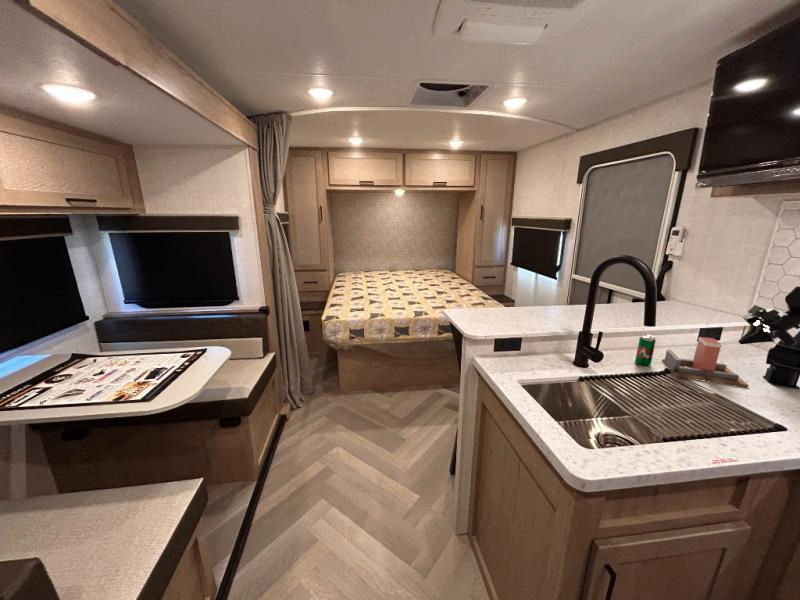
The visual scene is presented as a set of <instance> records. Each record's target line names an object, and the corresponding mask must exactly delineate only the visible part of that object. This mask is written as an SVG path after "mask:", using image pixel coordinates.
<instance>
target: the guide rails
mask: <svg viewBox="0 0 800 600" xmlns="http://www.w3.org/2000/svg"><path fill="white" fill-rule="evenodd" d="M664 359H665V360H664V361H665V362H666V364H667V365H668V366H669V367H670V368H671V370H672V371H673V372H677V373H684V374H691V375H698V376H705V377H712V378H719V379H726V380H733V381H738V378H740V375H738V374H737V373H735V374H733V373H734V372H733V373H725V372H718V371H710V370H703V369H695V368H688V367H686V366H684V367H681V366H680V365H687V366H692V364H693V360H694V359H687V358H679V357H678V356H677V354H676V353H674V351H672V350H671V349H666V352H665V357H664ZM726 367H727V365H726V364H725V363H719V362H716V366H715V369H717V370H725V369H726Z"/></svg>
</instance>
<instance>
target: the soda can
mask: <svg viewBox="0 0 800 600" xmlns="http://www.w3.org/2000/svg"><path fill="white" fill-rule="evenodd" d="M656 341H657V340H656V337H655V336H654V335H652V334H641V336H640V337H639V340H638V344H637V345H638V346H637V349H636V354H635V358H634V359H635V361H634V362H635V364H636V363H637V364H636V365H638V366H640V365H641V367H645V366H646V367H649V366H651V365H652V360H653V356H654V355H653V354H654V351H655V346H656V343H657V342H656Z"/></svg>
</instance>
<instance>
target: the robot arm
mask: <svg viewBox="0 0 800 600" xmlns="http://www.w3.org/2000/svg"><path fill="white" fill-rule="evenodd" d="M784 300H785V304H786V306H787V308H785V309H784V310H782V311H779V310H776V309H774V308H771V307H770V308H767V309H765V308H763V307H762V306H758V304H757V305H755V304H753V306H752V307H751V308H750V309H749V310H747V313H748V314H745V315H743V316H742V319H744V322H746V323H747V324H748V325H749V329H748V331H747V332H746V333H745V334H744V335H743V336H742V337H741V338H740V339H738V341H737V342H738V343H739V344H740V345H747V344H758V343H759V344H760V343H775V342H776V341H775V340H777V339H779V341H778V342H777V344H775V346H773V347H771V348H769V350H768V352H767V355H766V361H765V364H766V365H769V367H768V368H766V371H765V375H762V378H763V379H764V380H766V381H767V382H768V383H770V384H771V385H773V386H775V387H776V386H777V387H783V388H790V389H798V390H799V389H800V386H799V385H798V382H799V379H800V285H799V286H795V287H794V288H793V289H792V290H791V291H790V292H789V293H788V294H787V295H786V296H785V298H784ZM791 329H796V330H799V331H798V332H797V333H796V334H795V335H794V336H792V334H791V333H790V332H788V331H790V330H791Z"/></svg>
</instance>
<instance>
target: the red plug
mask: <svg viewBox="0 0 800 600" xmlns="http://www.w3.org/2000/svg"><path fill="white" fill-rule="evenodd" d="M697 340H698V341H697V345H696V347H695V353H694V356H693V359H692V360H693V364H692V366H693V367H694V368H695V369H703V370H710V371H714V370H715V366H716V363H718V362H717V361H718V358H719V354H720V352H721V348H722V344H721V343H720V341H717V340H716V339H715V338H713V337H703V336H699V337H698V339H697Z"/></svg>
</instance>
